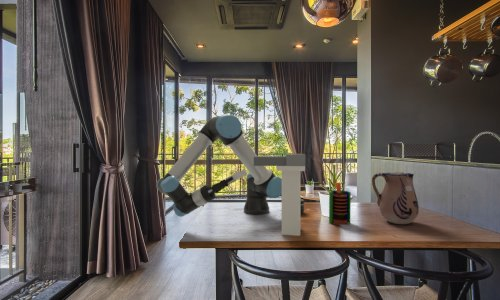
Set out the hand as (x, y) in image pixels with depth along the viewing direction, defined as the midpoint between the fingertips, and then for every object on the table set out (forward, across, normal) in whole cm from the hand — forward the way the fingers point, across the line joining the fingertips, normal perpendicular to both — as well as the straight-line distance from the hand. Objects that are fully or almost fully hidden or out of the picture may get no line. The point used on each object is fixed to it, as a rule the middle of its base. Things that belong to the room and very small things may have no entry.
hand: (243, 172), depth 129 cm
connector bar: (+16, +1, -5) cm, 17 cm away
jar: (+6, -43, -34) cm, 55 cm away
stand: (+5, -5, -34) cm, 34 cm away
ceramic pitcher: (+49, -30, -59) cm, 83 cm away
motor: (+25, -24, -45) cm, 57 cm away
